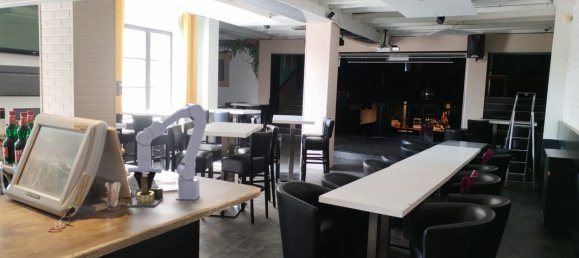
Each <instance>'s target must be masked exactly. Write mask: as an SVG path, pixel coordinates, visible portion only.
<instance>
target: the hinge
mask: <svg viewBox="0 0 579 258" xmlns="http://www.w3.org/2000/svg"><path fill="white" fill-rule="evenodd" d="M147 174H148V173H143V174H142V176H147ZM127 179H128V182H129V186H130V190H131V193H132V194H131V195H132V196H133V195H134V196H133V197H136V196H135V195H136V189H137V188H139V186H138V183H137V181H136V179H135V177H134V175H133V174H132V175H131V176H130V177H128V178H127ZM152 188H156V189H157V188H159V185H158V184H157V183H156V180H155V178H154V179H153V182H152ZM159 189H160V188H159Z"/></svg>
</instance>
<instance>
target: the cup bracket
mask: <svg viewBox="0 0 579 258" xmlns="http://www.w3.org/2000/svg"><path fill="white" fill-rule="evenodd" d="M132 200H133V204H132V205H129V203H127V208H156V207H158V205H159V204H160V203H161V202H162V201H163V200H164V188H159V189H156V188H151V189H149V194H148V195H141V189H139V188H137V189H136V196H135V198H134V199H132Z"/></svg>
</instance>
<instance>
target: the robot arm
mask: <svg viewBox="0 0 579 258" xmlns="http://www.w3.org/2000/svg"><path fill="white" fill-rule="evenodd" d="M205 114H206V111H205V110H204V108H203V106H201V105H200V104H197V103H193V102H189V103H186V105H183V106H181V107H180V108H179V109H177V110H175V112H173V113H172V114H170V115H168V117H166V118H165V119H163V120H162V121H161V120H157V121H156V120H155V121H153V122H152V124H151V125H149V126H148V127H144V128H143V130H140V131H138V132H137V134H136V135H135V138H134V139H135V141H136V142H137V143H136V144H137V145H136V146H137V148H136V151H137V152H136V155H137V156H136V157H137V166H135V167H134V166H133V167H127V174H131V173H133V174H132V176H133V175H134V177H135V179H136V181H137V183H138V186H139V189H141V176H142V174H143V173H148V174H147V177H148V189H151V188H152V182H153V179H154V180H155V176H156V174H161V173H162V172H163V171H162V170H163V168H162V167H152V147H151V143H152V142H153V140H155V139H156V138H157V137H159V136H162V134H164V133H166V131H167V128H168V127H169V126H171V125H172V124H174V123H177V122H178V121H180V120H181V119H190V120H191V121H192V123H193V125H194V126H193V129H192V132H191V135H190V138H189V141H188V145H187V148H186V151H185V154H184V156H183V158H182V159H181V160H180V163H179V165H177V167H176V173H177V175H178V178H177V179H178V180H177V183H178V184H177V186H178V188H177V189H178V196H177V197H176V198H175V200H178V201H179V200H185V201H186V200H189V201H190V200H191V201H193V200H197V199H198V198H199V197H200V196H201V194H200V180H199V179H198V178H195V175H196V166H197V165H196V159H197V156H198V152H199V149H200V146H201V144H202V141H203V140H202V139H203V137H204V134H205V130H206V128H207V119H206V115H205Z"/></svg>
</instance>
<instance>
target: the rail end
mask: <svg viewBox="0 0 579 258" xmlns="http://www.w3.org/2000/svg"><path fill="white" fill-rule="evenodd" d="M148 194H149V189H148V177H147V176H141V195H148Z"/></svg>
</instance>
